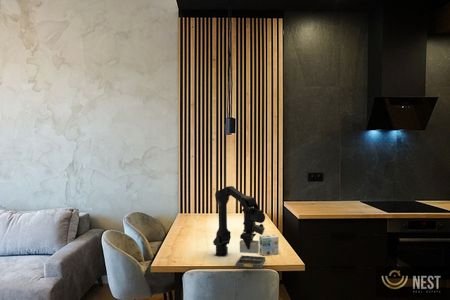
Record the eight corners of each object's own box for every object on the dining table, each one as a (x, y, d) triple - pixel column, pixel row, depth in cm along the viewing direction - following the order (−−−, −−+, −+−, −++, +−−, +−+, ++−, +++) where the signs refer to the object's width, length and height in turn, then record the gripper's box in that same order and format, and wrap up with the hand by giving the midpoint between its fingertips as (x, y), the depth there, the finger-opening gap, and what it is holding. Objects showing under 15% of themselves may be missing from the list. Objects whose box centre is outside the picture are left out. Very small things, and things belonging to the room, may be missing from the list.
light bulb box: (262, 255, 221) (262, 237, 221) (259, 252, 228) (258, 235, 228) (279, 254, 224) (278, 236, 224) (275, 251, 230) (274, 234, 230)
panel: (239, 252, 202) (239, 241, 202) (241, 250, 206) (241, 239, 206) (257, 253, 200) (257, 242, 200) (258, 251, 204) (258, 240, 204)
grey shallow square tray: (235, 266, 201) (235, 263, 201) (241, 258, 215) (241, 255, 215) (260, 268, 197) (260, 265, 197) (265, 260, 212) (265, 256, 212)
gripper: (260, 224, 192) (260, 254, 192) (266, 217, 210) (266, 244, 210) (239, 223, 195) (240, 252, 195) (247, 216, 213) (247, 243, 213)
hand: (249, 248), depth 203 cm, fingers closed on panel, 4 cm apart
